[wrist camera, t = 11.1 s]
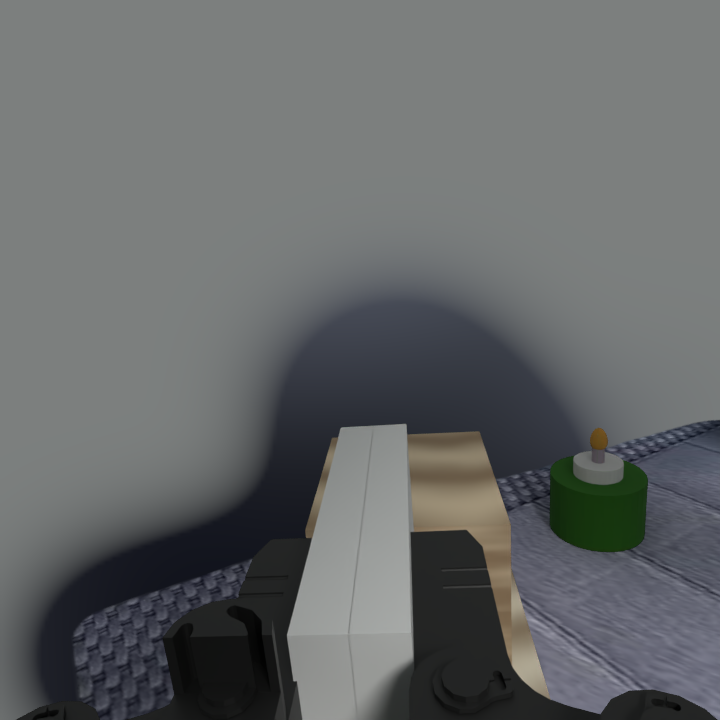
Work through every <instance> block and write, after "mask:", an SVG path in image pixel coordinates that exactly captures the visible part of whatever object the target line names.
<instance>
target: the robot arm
mask: <svg viewBox="0 0 720 720" xmlns="http://www.w3.org/2000/svg"><path fill="white" fill-rule="evenodd" d="M245 578H246V579H245V581H244V582H243V584H242V586H241V589H240V591H239V597H238V598H237V599H228V600H222V601H216V602H211V603H209V604H206V605H204V606H201V607H199V608H196V609H194V610H192V611H190V612H189V613H187V614H186V615H185V616H183V617H182V618H180V619H179V620H177V621H176V622H175V623H174V624H173V625H172V626H171V628H170V629H169V630H168V631H167V633H166V634H165V635H164V637H163V643H164V647H165V652H166V657H167V661H168V666H169V671H170V676H171V680H172V685H173V690H174V696H173V699H172V701H171V703H170V704H169V705H167V706H165V707H163V708H161V709H158V710H156V711H153V712H150V713H148V714H145V715H141V716H138V717H134V718H131V719H127V720H717V719H716V718H715V717H714V716H712V715H711V714H710V713H709V712H708V711H707V710H705V709H704V708H702V707H700V706H698V705H696V704H694V703H692V702H690V701H688V700H686V699H684V698H682V697H680V696H677V695H673V694H669V693H665V692H661V691H656V690H635V691H628V692H626V693H624V694H621V695H619V696H617V697H615V698H613V699H611V700H610V702H609V703H608V704H607V706H606V707H605V709H604V710H603V711H602V713H601V715H600V714H597V713H593V712H589V711H585V710H581V709H577V708H574V707H570V706H567V705H564V704H561V703H558V702H556V701H553V700H550V699H548V698H547V697H545V696H543V695H541V694H540V693H538V692H536V691H534V690H533V689H532V688H531V687H530V686H529V685H527V684H526V683H525V682H524V681H523V680H522V679H521V678H520V677H519V675H518V674H517V673H516V671H515V670H514V669H513V667H512V664H511V662H510V659H509V657H508V654H507V649H506V645H505V641H504V637H503V632H502V628H501V624H500V619H499V615H498V611H497V607H496V602H495V598H494V594H493V589H492V587H491V581H490V577H489V572H488V570H487V564H486V559H485V555H484V551H483V546H482V545H481V544H480V543H479V542H478V541H477V540H476V539H475V538H474V537H473V536H472V535H471V534H470V533H469V532H468V531H467V530H448V531H423V532H414V525H413V511H412V497H411V483H410V469H409V455H408V441H407V427H406V424H398V425H379V426H362V427H344V428H341V430H340V434H339V437H338V441H337V445H336V449H335V453H334V457H333V460H332V464H331V468H330V472H329V476H328V480H327V483H326V487H325V491H324V495H323V499H322V503H321V507H320V510H319V514H318V518H317V522H316V526H315V530H314V533H313V537H312V538H296V539H272V540H271V541H270V542H269V543H267V544H266V545H265V546H264V547H263V548H262V549H261V550H260V551H259V552H258V553H257V554H256V555H255V556H254V557H253V560H252V562H251V564H250V567H249V569H248V572H247V574H246V577H245ZM17 720H100V718H99V716H98V714H97V712H96V709H95V708H93V707H91V706H89V705H87V704H85V703H83V702H77V701H61V702H57V703H54V704H50V705H46V706H43V707H39V708H37V709H35V710H34V711H32V712H30V713H28V714H26V715H24V716H22V717H20V718H18V719H17Z"/></svg>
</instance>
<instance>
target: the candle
mask: <svg viewBox="0 0 720 720" xmlns="http://www.w3.org/2000/svg"><path fill="white" fill-rule="evenodd" d="M590 444H591V446H592V451H588V452H582V453H579V454H577V455H576V456H571V457H567V458H563V459H561V460H559V461H557V462H555V463H554V464H553V465H552V467H551V471H550V526H551V529H552V530H553V532H554V533H555V534H556V535H557V536H558V537H559V538H561V539H562V540H564V541H565V542H567V543H570V544H572V545H574V546H577V547H580V548H583V549H587V550H591V551H599V552H618V551H624V550H629V549H631V548H634V547H636V546H637V545H639V544H640V543H641V542H642V540H643V539H644V535H645V520H646V503H647V486H648V478H647V475H646V474H645V473H644V471H643V470H641V469H640V468H639V467H637V466H635V465H634V464H631V463H629V462H627V461H624V460H622V459H621V458H619V457H618V456H615V455H613V454H610V453H606V452H605V448H606V447H607V444H608V439H607V435H606V433H605V432H604V430H603V429H601V428H597V429H595V430H594V431H593V433H592V435H591V438H590Z"/></svg>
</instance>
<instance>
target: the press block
mask: <svg viewBox="0 0 720 720" xmlns="http://www.w3.org/2000/svg"><path fill="white" fill-rule="evenodd" d="M337 441H338V438H332V441H331V444H330V448H329V451H328V455H327V458H326V462H325V465H324V468H323V472H322V475H321V479H320V482H319V485H318V489H317V492H316V496H315V499H314V502H313V506H312V509H311V513H310V516H309V520H308V523H307V527H306V530H305V532H306V538H312V537H313V533H314V530H315V526H316V522H317V518H318V514H319V510H320V507H321V503H322V499H323V495H324V491H325V487H326V483H327V480H328V476H329V472H330V468H331V464H332V460H333V457H334V453H335V449H336V445H337ZM407 441H408V455H409V469H410V483H411V497H412V511H413V525H414V532H423V531H448V530H467V531H468V532H469V533H470V534H471V535H472V536H473V537H474V538H475V539H476V540H477V541H478V542H479V543H480V544H481V545H482V546H483V551H484V555H485V559H486V564H487V570H488V572H489V577H490V581H491V587H492V589H493V594H494V598H495V602H496V607H497V611H498V615H499V619H500V624H501V628H502V632H503V637H504V641H505V645H506V649H507V654H508V657H509V659H510V662H511V664H512V667H513V669H514V670H515V671H516V673H517V674H518V675H519V677H520V678H521V679H522V680H523V681H524V682H525V683H526V684H527V685H529V686H530V687H531V688H532V689H533V690H534V691H536V692H538V693H540V694H541V695H543V696H545V697H547V698H548V699H550V696H549V693H548V690H547V686H546V683H545V680H544V676H543V673H542V670H541V666H540V663H539V660H538V656H537V653H536V650H535V646H534V643H533V640H532V636H531V633H530V630H529V626H528V623H527V620H526V616H525V613H524V610H523V606H522V603H521V599H520V596H519V593H518V589H517V586H516V583H515V579H514V576H513V573H512V569H511V524H510V521H509V518H508V515H507V512H506V509H505V506H504V503H503V500H502V497H501V494H500V491H499V488H498V486H497V483H496V480H495V477H494V474H493V471H492V468H491V465H490V462H489V459H488V456H487V453H486V450H485V447H484V444H483V441H482V438H481V435H480V432H456V433H433V434H411V435H407Z"/></svg>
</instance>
